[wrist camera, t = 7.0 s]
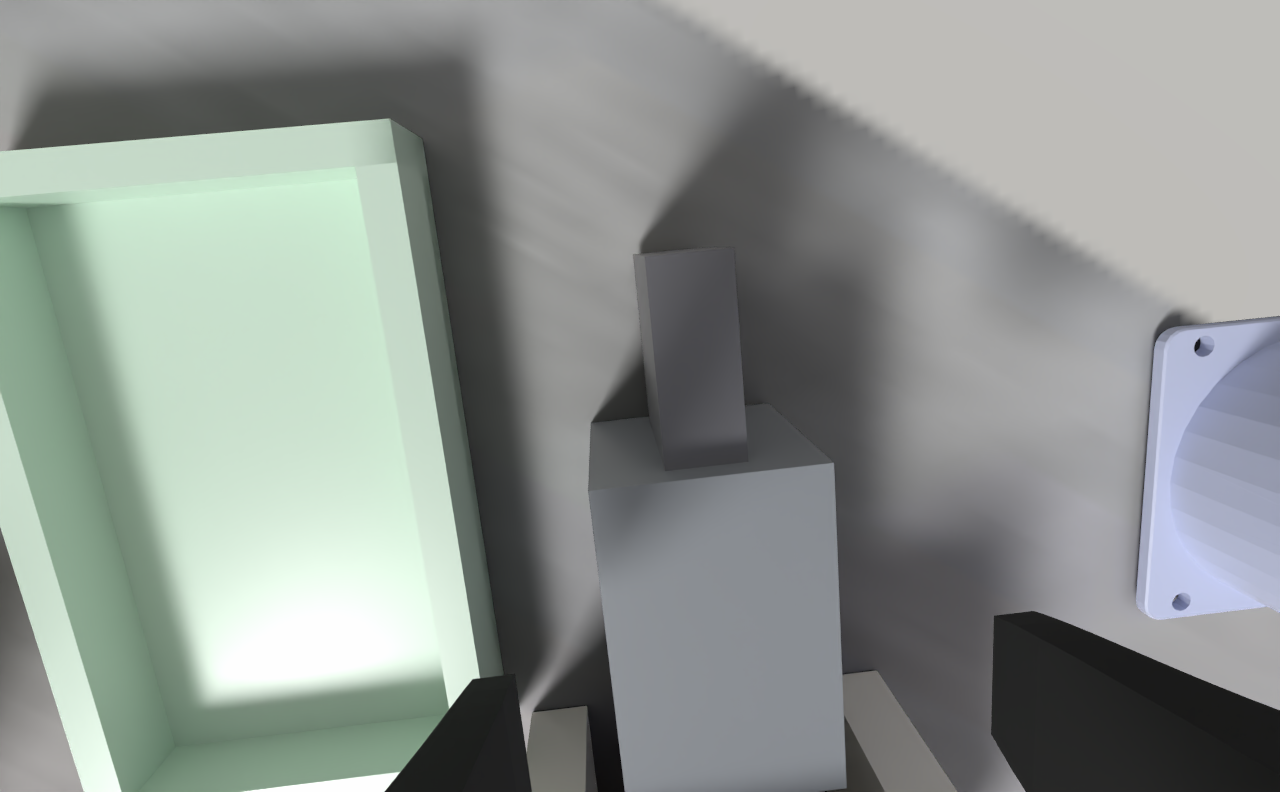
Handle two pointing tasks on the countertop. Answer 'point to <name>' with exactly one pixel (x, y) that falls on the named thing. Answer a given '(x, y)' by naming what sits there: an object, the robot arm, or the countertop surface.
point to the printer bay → (876, 788)
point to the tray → (238, 456)
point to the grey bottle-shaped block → (715, 559)
